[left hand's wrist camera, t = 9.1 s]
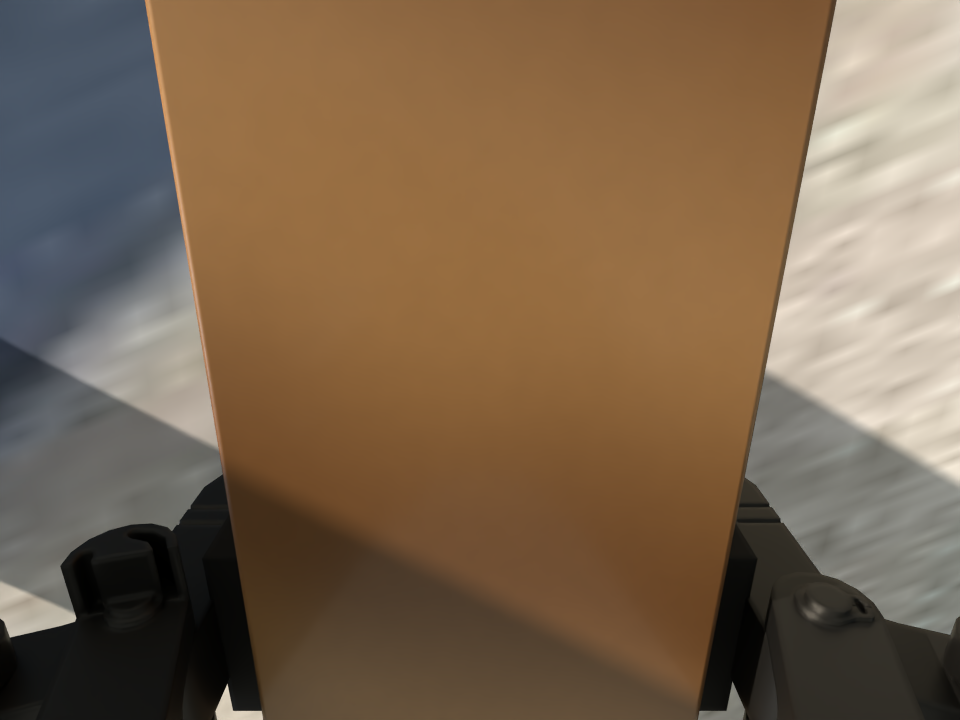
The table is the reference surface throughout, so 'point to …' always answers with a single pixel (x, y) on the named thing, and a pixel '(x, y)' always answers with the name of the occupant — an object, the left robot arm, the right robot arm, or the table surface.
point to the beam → (486, 332)
